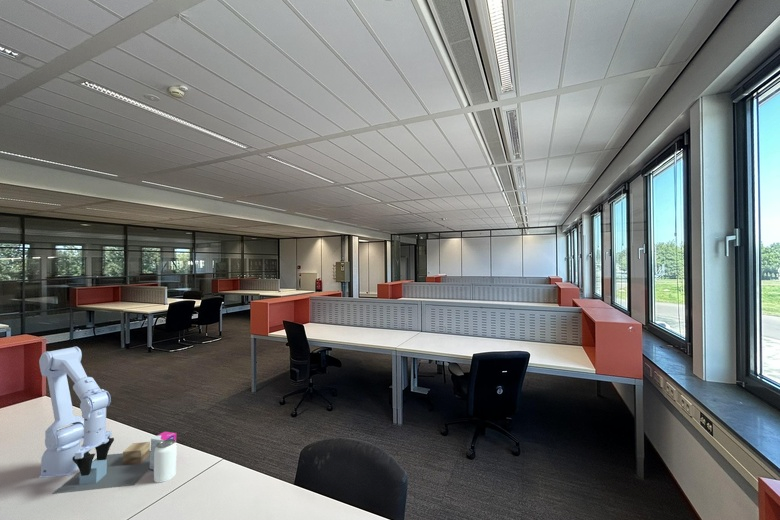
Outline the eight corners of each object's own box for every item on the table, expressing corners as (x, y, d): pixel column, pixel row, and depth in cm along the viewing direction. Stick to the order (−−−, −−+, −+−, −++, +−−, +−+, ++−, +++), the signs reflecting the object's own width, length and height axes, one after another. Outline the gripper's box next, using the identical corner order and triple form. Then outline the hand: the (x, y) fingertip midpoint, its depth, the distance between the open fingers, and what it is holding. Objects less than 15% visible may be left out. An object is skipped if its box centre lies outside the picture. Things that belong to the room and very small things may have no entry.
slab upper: (122, 458, 118) (122, 451, 119) (132, 449, 124) (132, 443, 124) (140, 456, 120) (140, 450, 120) (149, 448, 125) (149, 441, 126)
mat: (51, 494, 103) (51, 493, 103) (100, 456, 125) (100, 455, 125) (134, 485, 108) (134, 485, 108) (167, 449, 129) (167, 449, 129)
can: (180, 473, 114) (181, 440, 114) (162, 485, 108) (163, 449, 108) (167, 470, 116) (168, 436, 116) (149, 481, 110) (150, 446, 110)
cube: (79, 484, 108) (79, 469, 108) (90, 475, 113) (90, 461, 113) (96, 483, 109) (96, 468, 109) (106, 473, 114) (106, 459, 114)
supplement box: (162, 472, 115) (163, 440, 115) (148, 470, 116) (149, 438, 116) (176, 463, 120) (176, 432, 121) (163, 461, 122) (163, 430, 122)
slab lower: (122, 465, 118) (122, 458, 118) (132, 456, 124) (132, 449, 124) (140, 463, 119) (140, 456, 120) (149, 454, 125) (149, 448, 125)
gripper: (92, 438, 105) (91, 480, 104) (121, 418, 119) (120, 454, 119) (67, 440, 104) (66, 482, 103) (99, 419, 118) (98, 457, 117)
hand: (93, 468), depth 111 cm, fingers open, 7 cm apart
